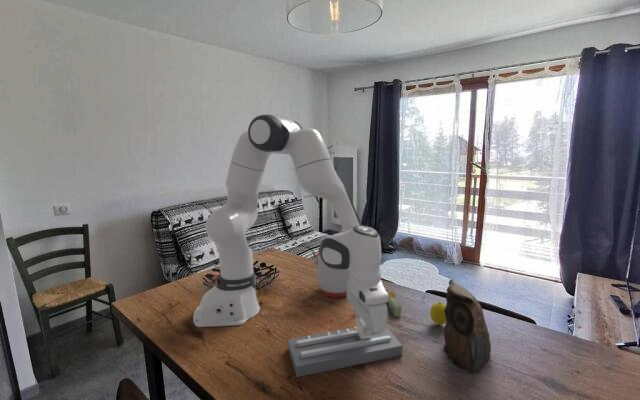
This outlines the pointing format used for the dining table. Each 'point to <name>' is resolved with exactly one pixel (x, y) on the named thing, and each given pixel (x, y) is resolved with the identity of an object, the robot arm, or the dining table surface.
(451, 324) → the owl
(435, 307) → the lemon
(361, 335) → the fader
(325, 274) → the citrus juicer
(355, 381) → the dining table surface
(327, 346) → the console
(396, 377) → the dining table surface
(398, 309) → the medication box
